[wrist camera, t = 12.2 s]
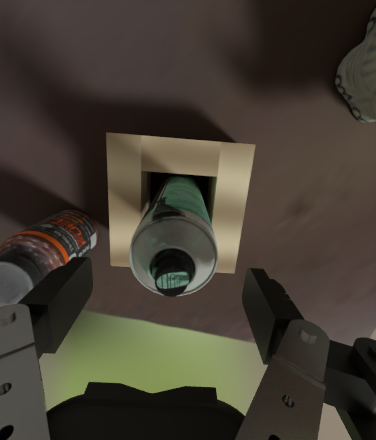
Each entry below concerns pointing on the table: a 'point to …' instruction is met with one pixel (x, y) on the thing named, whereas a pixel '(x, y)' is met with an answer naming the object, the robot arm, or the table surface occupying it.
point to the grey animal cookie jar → (360, 76)
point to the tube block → (180, 164)
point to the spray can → (174, 240)
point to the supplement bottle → (43, 251)
